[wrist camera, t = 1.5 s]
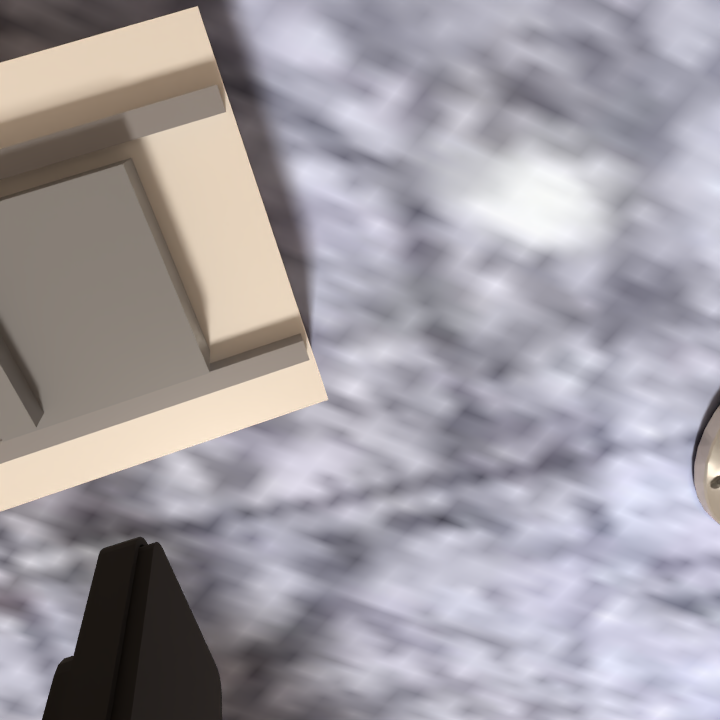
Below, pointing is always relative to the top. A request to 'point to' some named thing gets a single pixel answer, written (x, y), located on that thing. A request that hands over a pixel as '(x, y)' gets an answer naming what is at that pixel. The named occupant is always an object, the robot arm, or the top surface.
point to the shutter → (88, 301)
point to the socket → (180, 230)
